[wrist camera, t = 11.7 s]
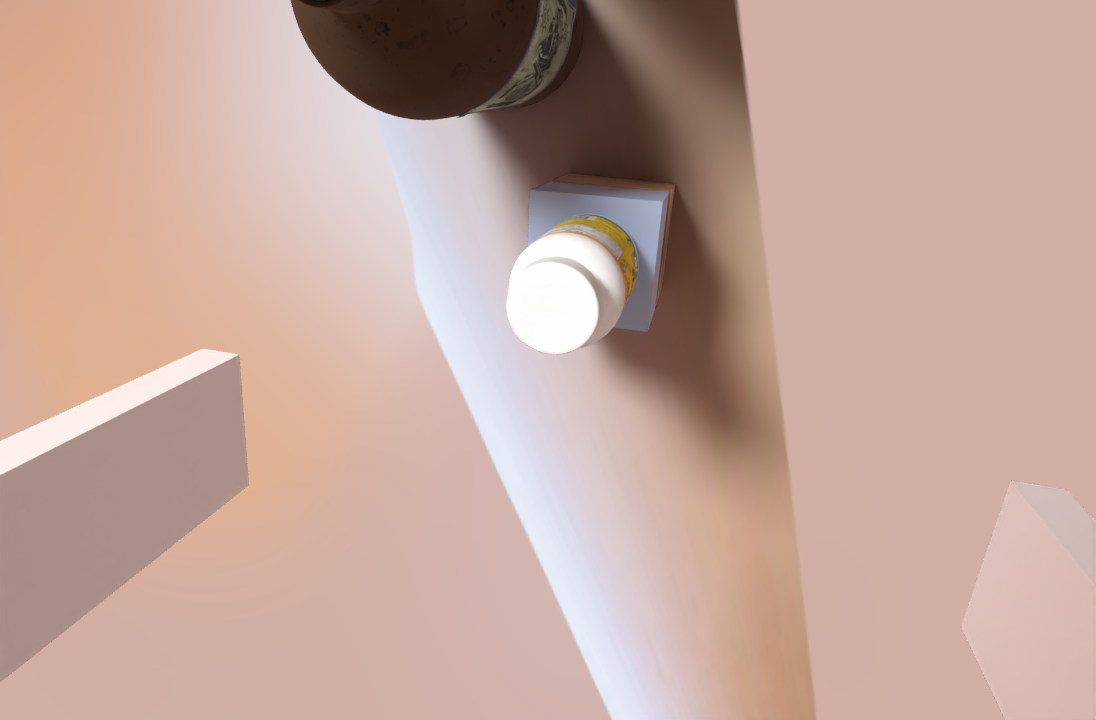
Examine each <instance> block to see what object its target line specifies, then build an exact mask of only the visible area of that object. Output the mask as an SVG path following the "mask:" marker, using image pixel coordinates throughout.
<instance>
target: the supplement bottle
mask: <svg viewBox="0 0 1096 720" xmlns="http://www.w3.org/2000/svg"><path fill="white" fill-rule="evenodd" d="M638 269H639V264H638V254H637V250H636V246H635V244H634V241H633V239H632V238H631V236H630V235H629V233H628V232H627V231H626V230H625V229H624V228H623V227H622V226H621V225H620V224H618V223H617V222H615V221H614V220H612V219H610V218H608V217H605V216H602V215H597V214H580V215H575V216H572V217H570V218H567V219H565V220H564V221H562V222H560V223H559V224H557V225H556V226H555V227H553V228H552V229H551V230H549V231H548V232H547V233H545V234H544V235H542V236H541V237H540V238H538V239H537V240H536V241H534V242H533V243H532V244H530V245H529V246H528V247H527V248H526V249H525V250H524V251H523V252H522V253H521V255H520V256H519V257H518V259H517V261H516V262H515V264H514V267H513V269H512V272H511V276H510V281H509V292H508V295H507V304H506V308H507V315H508V319H509V322H510V325H511V327H512V329H513V330H514V332H515V333H516V335H517V336H518V337H519V338H520V339H521V340H522V341H523V342H524V343H525V344H526V345H528V346H529V347H531V348H533V349H535V350H537V351H539V352H543V353H547V354H565V353H569V352H572V351H574V350H576V349H578V348H583V347H586V346H589V345H591V344H593V343H595V342H597V341H599V340H600V339H602V338H603V337H604V336H605V335H607V334H608V333H609V332H610V330H611V329H612V328H613V327H614V326H615V325H616V323H617V321H618V319H619V317H620V315H621V313H622V311H623V309H624V307H625V305H626V303H627V301H628V299H629V297H630V294H631V292H632V290H633V288H634V286H635V283H636V280H637V276H638Z"/></svg>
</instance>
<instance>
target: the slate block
mask: <svg viewBox="0 0 1096 720" xmlns="http://www.w3.org/2000/svg"><path fill="white" fill-rule="evenodd" d="M668 195H669V192H664V191H652V190H641V189H630V188H618V187H607V186H596V185H584V184H573V183H561V182H548V183H546V184H543V185H541V186H538V187H536V188H534V189H531V190H530V203H529V222H528V241H527V247H528V246H529V245H530V244H532V243H533V242H534V241H536V240H537V239H538V238H540V237H541V236H542V235H544V234H545V233H547V232H548V231H549V230H551V229H552V228H553V227H555V226H556V225H557V224H559V223H560V222H562V221H564V220H565V219H567V218H570V217H572V216H575V215H580V214H597V215H602V216H605V217H608V218H610V219H612V220H614V221H615V222H617V223H618V224H620V225H621V226H622V227H623V228H624V229H625V230H626V231H627V232H628V233H629V235H630V236H631V238H632V239H633V241H634V244H635V246H636V250H637V254H638V264H639V269H638V276H637V280H636V283H635V286H634V288H633V290H632V292H631V294H630V297H629V299H628V301H627V303H626V305H625V307H624V309H623V311H622V313H621V315H620V317H619V319H618V321H617V323H616V325H615V326H614V327H613V328H619V329H627V330H635V331H643V332H648V330H649V327H650V323H651V320H652V317H653V314H654V311H655V306H656V297H657V289H658V280H659V272H660V263H661V255H662V246H663V238H664V229H665V221H666V212H667V204H668Z"/></svg>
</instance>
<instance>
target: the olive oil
mask: <svg viewBox="0 0 1096 720" xmlns="http://www.w3.org/2000/svg"><path fill="white" fill-rule="evenodd" d="M291 3H292V7H293V11H294V14H295V17H296V20H297V23H298V26H299V28H300V31H301V33H302V35H303V37H304V39H305V41H306V43H307V45H308V47H309V48H310V50H311V51H312V53H313V54H314V56H315V57H316V59H317V60H318V62H319V63H320V64H321V65H322V67H323V68H324V69H325V70H326V71H327V73H328V74H329V75H330V76H331V77H332V78H333V79H334V80H335V81H336V82H338V83H339V84H340V85H341V86H342V87H344V89H346V90H347V91H348V92H350V93H351V94H352V95H354V96H355V97H356V98H358V99H359V100H361V101H363V102H364V103H366V104H368V105H369V106H371V107H373V108H375V109H377V110H380V111H382V112H385V113H388V114H391V115H394V116H398V117H402V118H408V119H416V120H435V119H443V118H449V117H454V116H459V117H463V116H465V115H467V114H470V113H476V112H482V111H489V110H495V109H507V108H517V107H523V106H527V105H531V104H533V103H536V102H538V101H540V100H542V99H544V98H546V97H547V96H549V95H550V94H551V93H553V92H554V91H555V90H556V89H557V88H558V87H559V86H560V85H561V84H562V83H563V82H564V81H565V79H566V78H567V77H568V75H569V74H570V72H571V70H572V69H573V67H574V65H575V62H576V60H577V58H578V55H579V52H580V48H581V44H582V38H583V12H582V6H581V2H580V0H291ZM459 117H457V118H459Z"/></svg>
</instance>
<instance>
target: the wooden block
mask: <svg viewBox="0 0 1096 720" xmlns="http://www.w3.org/2000/svg"><path fill="white" fill-rule="evenodd" d="M552 182H561V183H573V184H584V185H596V186H607V187H618V188H630V189H641V190H652V191H664V192H669V195H668V204H667V212H666V221H665V229H664V238H663V246H662V255H661V263H660V272H659V280H658V289H657V297H656V306H657V303H658V300H659V297H660V294H661V290H662V284H663V276H664V268H665V261H666V253H667V246H668V238H669V230H670V223H671V215H672V208H673V200H674V192H675V185H676V184H675V183H665V182H654V181H644V180H634V179H623V178H613V177H603V176H593V175H582V174H572V173H568V174H565V175H563V176H560V177H558V178H555V179H553V181H552ZM656 306H655V308H656Z"/></svg>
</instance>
